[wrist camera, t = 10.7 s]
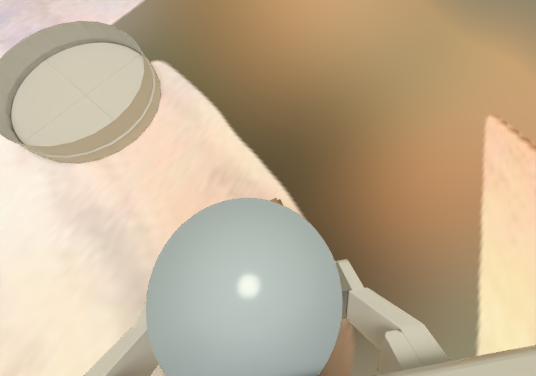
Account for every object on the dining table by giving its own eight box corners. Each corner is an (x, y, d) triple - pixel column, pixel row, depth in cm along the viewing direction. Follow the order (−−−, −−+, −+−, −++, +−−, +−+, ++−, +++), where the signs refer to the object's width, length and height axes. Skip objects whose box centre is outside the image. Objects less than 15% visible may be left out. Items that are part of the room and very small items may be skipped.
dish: (-8, 107, 35) (-51, 84, 30) (105, 30, 40) (84, -1, 36) (75, 194, 31) (40, 182, 26) (190, 94, 36) (178, 70, 31)
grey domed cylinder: (313, 294, 16) (380, 350, 6) (235, 333, 15) (179, 463, 6) (278, 218, 18) (290, 172, 8) (206, 250, 17) (125, 241, 7)
